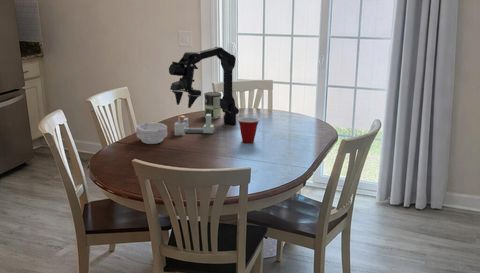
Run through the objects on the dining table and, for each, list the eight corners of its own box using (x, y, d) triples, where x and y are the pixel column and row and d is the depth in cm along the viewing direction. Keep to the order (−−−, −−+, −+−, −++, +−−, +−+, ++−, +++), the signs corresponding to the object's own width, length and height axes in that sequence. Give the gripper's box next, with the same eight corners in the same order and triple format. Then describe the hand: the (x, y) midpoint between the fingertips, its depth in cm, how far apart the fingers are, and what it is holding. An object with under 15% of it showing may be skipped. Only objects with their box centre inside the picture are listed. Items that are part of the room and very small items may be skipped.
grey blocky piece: (188, 128, 271) (188, 117, 269) (184, 135, 257) (183, 124, 256) (179, 128, 271) (179, 117, 269) (174, 135, 258) (174, 124, 256)
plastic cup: (259, 139, 253) (260, 116, 250) (258, 145, 243) (258, 121, 239) (238, 138, 254) (238, 115, 251) (236, 144, 244) (236, 121, 240)
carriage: (213, 130, 265) (213, 113, 263) (212, 133, 260) (212, 116, 258) (204, 130, 266) (204, 113, 263) (203, 133, 261) (203, 115, 258)
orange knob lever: (185, 124, 265) (185, 115, 263) (184, 126, 261) (184, 117, 260) (179, 124, 265) (178, 115, 264) (177, 126, 261) (177, 117, 260)
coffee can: (204, 118, 291) (204, 95, 287) (204, 114, 301) (203, 92, 297) (222, 118, 292) (222, 95, 288) (220, 114, 302) (220, 91, 298)
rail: (214, 131, 264) (214, 128, 264) (213, 133, 262) (213, 129, 261) (187, 131, 265) (187, 127, 265) (186, 132, 262) (186, 129, 262)
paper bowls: (167, 145, 241) (167, 129, 238) (136, 146, 238) (135, 130, 236) (167, 136, 255) (166, 121, 253) (137, 137, 253) (136, 122, 250)
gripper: (164, 73, 255) (160, 102, 258) (187, 78, 243) (183, 109, 245) (180, 74, 263) (176, 103, 266) (203, 80, 251) (199, 109, 254)
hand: (183, 106), depth 258 cm, fingers open, 9 cm apart
